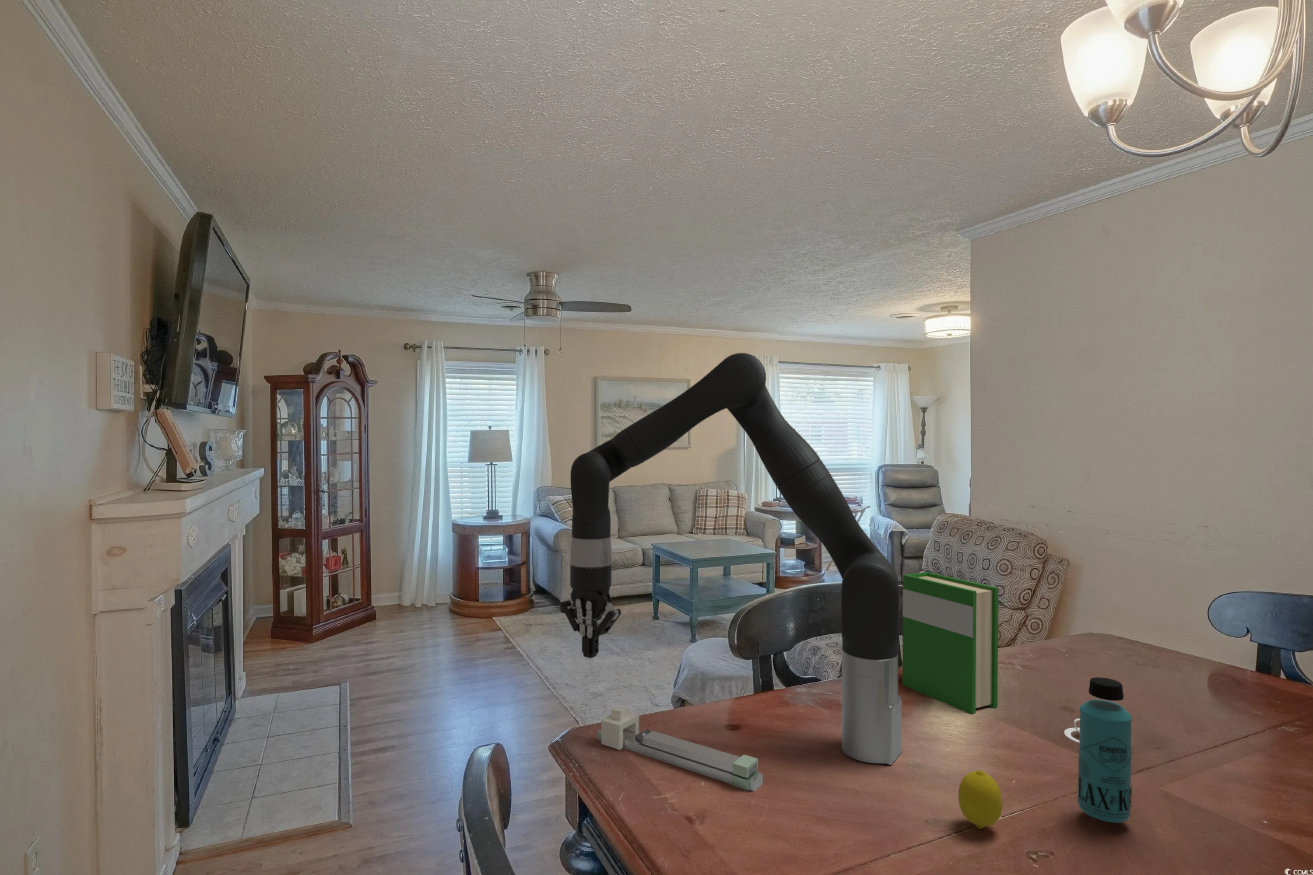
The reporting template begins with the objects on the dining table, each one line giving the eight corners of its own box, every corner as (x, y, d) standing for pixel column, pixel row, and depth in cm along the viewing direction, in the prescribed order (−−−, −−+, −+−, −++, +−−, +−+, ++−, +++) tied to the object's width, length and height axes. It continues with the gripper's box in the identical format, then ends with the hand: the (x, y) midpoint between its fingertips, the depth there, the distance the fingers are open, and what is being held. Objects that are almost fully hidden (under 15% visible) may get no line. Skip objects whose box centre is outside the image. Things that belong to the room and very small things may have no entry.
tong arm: (641, 744, 118) (641, 734, 118) (654, 736, 121) (654, 727, 121) (747, 777, 106) (747, 767, 106) (757, 768, 109) (757, 758, 109)
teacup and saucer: (1117, 736, 127) (1117, 713, 127) (1125, 754, 120) (1125, 730, 120) (1061, 727, 131) (1062, 705, 131) (1066, 744, 124) (1066, 721, 124)
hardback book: (997, 707, 139) (998, 587, 139) (972, 714, 136) (973, 591, 136) (926, 679, 155) (927, 571, 155) (902, 685, 151) (903, 574, 151)
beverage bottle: (1066, 809, 101) (1067, 672, 101) (1109, 807, 102) (1110, 671, 102) (1098, 835, 95) (1099, 689, 95) (1144, 833, 95) (1145, 687, 95)
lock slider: (601, 743, 122) (601, 710, 122) (621, 732, 126) (621, 700, 126) (619, 749, 119) (619, 716, 119) (638, 738, 124) (639, 705, 124)
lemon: (1007, 841, 93) (1007, 782, 93) (963, 836, 94) (963, 778, 94) (995, 819, 99) (996, 763, 99) (954, 814, 100) (954, 759, 100)
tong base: (596, 739, 124) (596, 722, 124) (609, 732, 127) (609, 715, 127) (752, 792, 106) (753, 771, 106) (763, 782, 109) (763, 762, 109)
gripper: (632, 562, 126) (631, 658, 126) (577, 554, 134) (576, 644, 134) (606, 569, 120) (605, 669, 120) (550, 560, 127) (549, 654, 128)
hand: (590, 656), depth 127 cm, fingers closed
